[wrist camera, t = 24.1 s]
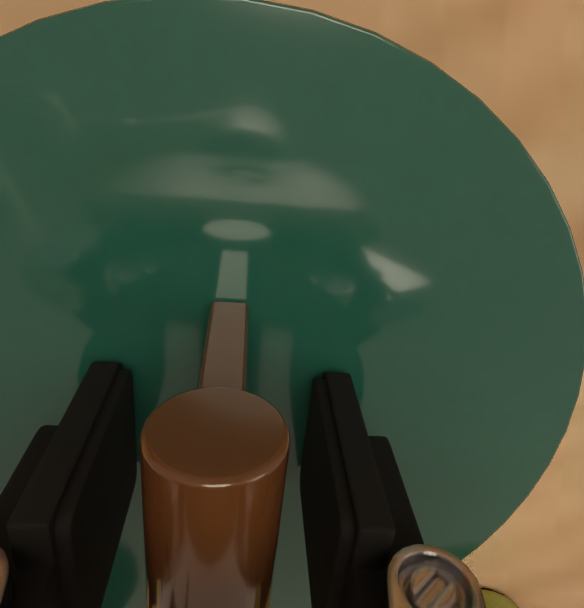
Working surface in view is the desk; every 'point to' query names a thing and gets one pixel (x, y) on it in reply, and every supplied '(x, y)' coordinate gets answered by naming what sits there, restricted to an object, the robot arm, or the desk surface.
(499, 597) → the plant pot
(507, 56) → the desk surface
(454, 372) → the lid
